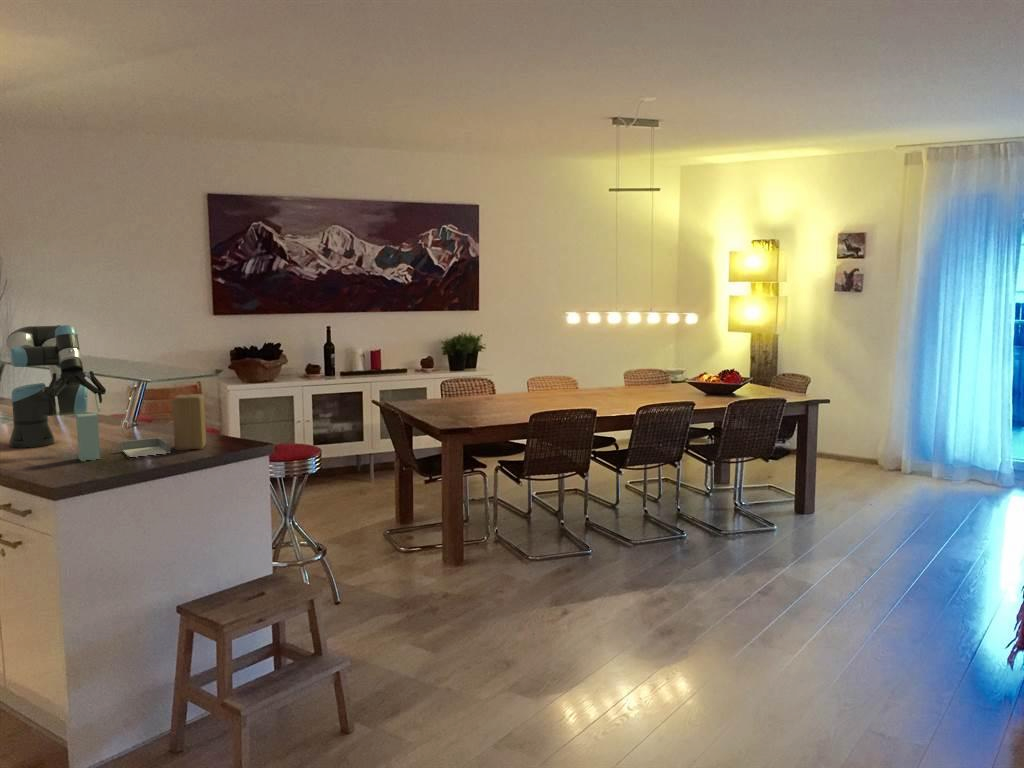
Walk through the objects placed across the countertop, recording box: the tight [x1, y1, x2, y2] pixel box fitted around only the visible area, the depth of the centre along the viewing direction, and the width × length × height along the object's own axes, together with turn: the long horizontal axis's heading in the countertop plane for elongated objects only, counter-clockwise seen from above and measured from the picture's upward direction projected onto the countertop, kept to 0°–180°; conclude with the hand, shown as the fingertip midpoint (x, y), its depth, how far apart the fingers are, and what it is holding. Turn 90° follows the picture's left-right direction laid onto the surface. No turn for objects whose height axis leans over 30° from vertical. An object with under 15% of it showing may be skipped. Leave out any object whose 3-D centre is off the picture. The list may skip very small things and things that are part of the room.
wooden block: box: [171, 393, 207, 451], centre depth 324 cm, size 10×10×20 cm
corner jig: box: [121, 436, 171, 458], centre depth 316 cm, size 14×14×4 cm
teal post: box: [75, 412, 101, 462], centre depth 304 cm, size 6×6×16 cm
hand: (78, 411), depth 315 cm, fingers open, 13 cm apart
